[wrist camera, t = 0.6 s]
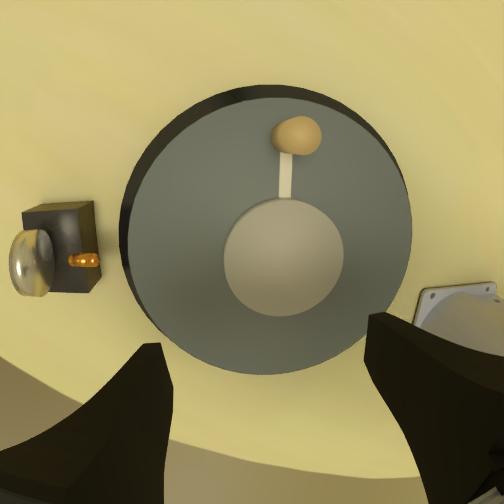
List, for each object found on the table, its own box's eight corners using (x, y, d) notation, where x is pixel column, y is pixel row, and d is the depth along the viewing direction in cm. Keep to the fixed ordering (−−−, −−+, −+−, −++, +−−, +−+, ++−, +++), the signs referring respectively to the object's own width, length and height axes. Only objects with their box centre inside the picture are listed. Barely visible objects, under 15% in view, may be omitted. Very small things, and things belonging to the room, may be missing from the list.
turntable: (409, 119, 17) (456, 117, 12) (376, 349, 22) (404, 387, 18) (130, 103, 15) (103, 90, 11) (150, 362, 20) (139, 409, 16)
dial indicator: (116, 199, 18) (77, 223, 12) (123, 276, 20) (93, 324, 14) (40, 204, 17) (-13, 228, 12) (51, 276, 19) (8, 318, 13)
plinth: (408, 108, 18) (420, 106, 17) (376, 346, 24) (384, 357, 22) (122, 92, 16) (115, 88, 15) (142, 358, 22) (138, 371, 20)
